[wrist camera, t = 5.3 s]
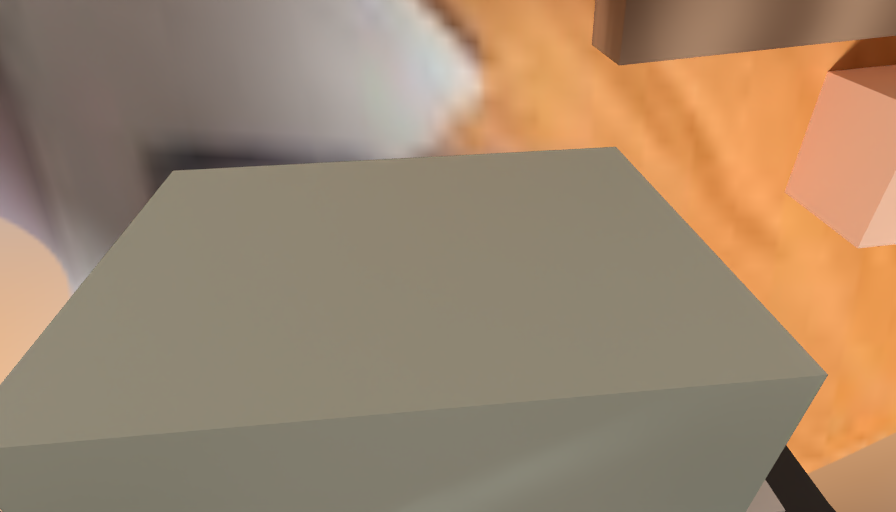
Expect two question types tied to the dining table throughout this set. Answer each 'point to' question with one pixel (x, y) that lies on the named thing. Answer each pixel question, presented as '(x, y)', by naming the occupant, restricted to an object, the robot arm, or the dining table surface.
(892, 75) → the beige cube
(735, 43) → the walnut base
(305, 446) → the sage brick
